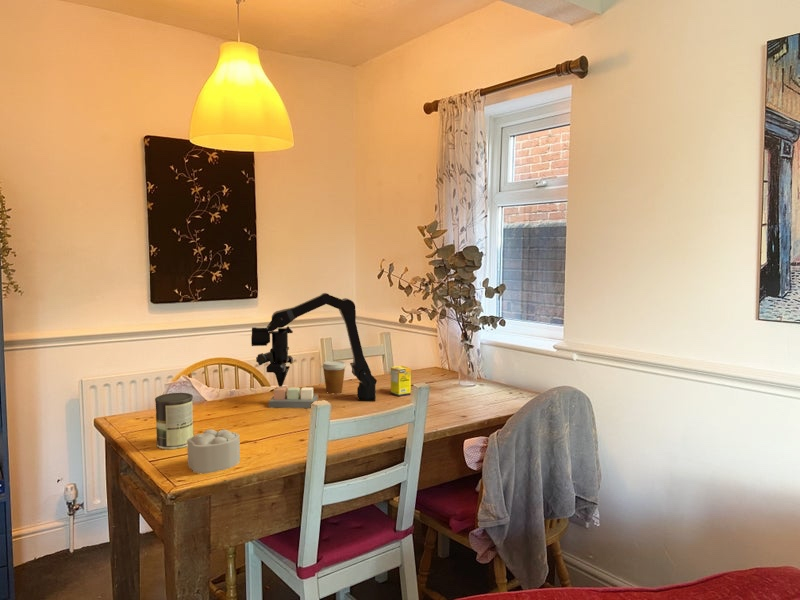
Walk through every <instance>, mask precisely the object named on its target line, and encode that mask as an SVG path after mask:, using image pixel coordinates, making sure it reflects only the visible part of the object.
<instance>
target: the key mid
mask: <svg viewBox="0 0 800 600" xmlns="http://www.w3.org/2000/svg"><path fill="white" fill-rule="evenodd" d="M300 395H301V387H298V386H297V387H291V386H290V387H287V400H299V399H300Z"/></svg>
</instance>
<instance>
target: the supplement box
mask: <svg viewBox="0 0 800 600" xmlns="http://www.w3.org/2000/svg"><path fill="white" fill-rule="evenodd" d="M411 369H412V368H411V367H407V366H405V365H397V366H390V394H391V395H394V396H396V397H404V396H410V395H411V389H412V388H411V384H412V383H411V382H412V381H411V380H412V379H411V378H412V376H411V375H412V370H411Z"/></svg>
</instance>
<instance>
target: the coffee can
mask: <svg viewBox="0 0 800 600" xmlns="http://www.w3.org/2000/svg"><path fill="white" fill-rule="evenodd" d="M193 399H194V396H193V394H192V393H189V392H188V393H187V392H173V393H172V392H171V393H164V394H161V395H159V396H156V397H155V398H154V402H155V421H156V424H155V426H156V429H155V430H156V447H157V448H158V447H159V449H160V448H162V449H161V450H177V449H178V448H179V449H183V448H187V440H188V439H189V438H191V437H193V436H194V420H193V419H194V415H193V411H194V410H193Z"/></svg>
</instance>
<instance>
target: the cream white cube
mask: <svg viewBox="0 0 800 600" xmlns="http://www.w3.org/2000/svg"><path fill="white" fill-rule="evenodd" d="M300 395H301V400H312V399H313V395H314V387H302V388H300Z"/></svg>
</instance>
